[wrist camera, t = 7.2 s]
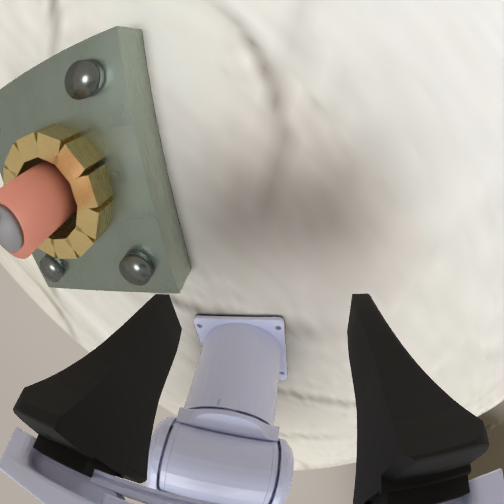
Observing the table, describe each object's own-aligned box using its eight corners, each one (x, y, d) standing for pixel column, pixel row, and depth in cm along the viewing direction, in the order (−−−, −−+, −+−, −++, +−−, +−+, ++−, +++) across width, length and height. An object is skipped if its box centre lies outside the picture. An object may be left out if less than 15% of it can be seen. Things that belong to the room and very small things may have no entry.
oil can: (103, 200, 19) (30, 272, 13) (63, 205, 20) (-6, 269, 14) (87, 142, 17) (-3, 198, 10) (46, 154, 18) (-35, 207, 11)
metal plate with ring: (191, 268, 24) (170, 312, 20) (65, 268, 26) (37, 300, 22) (141, 29, 14) (96, 23, 10) (8, 93, 16) (-35, 108, 12)
